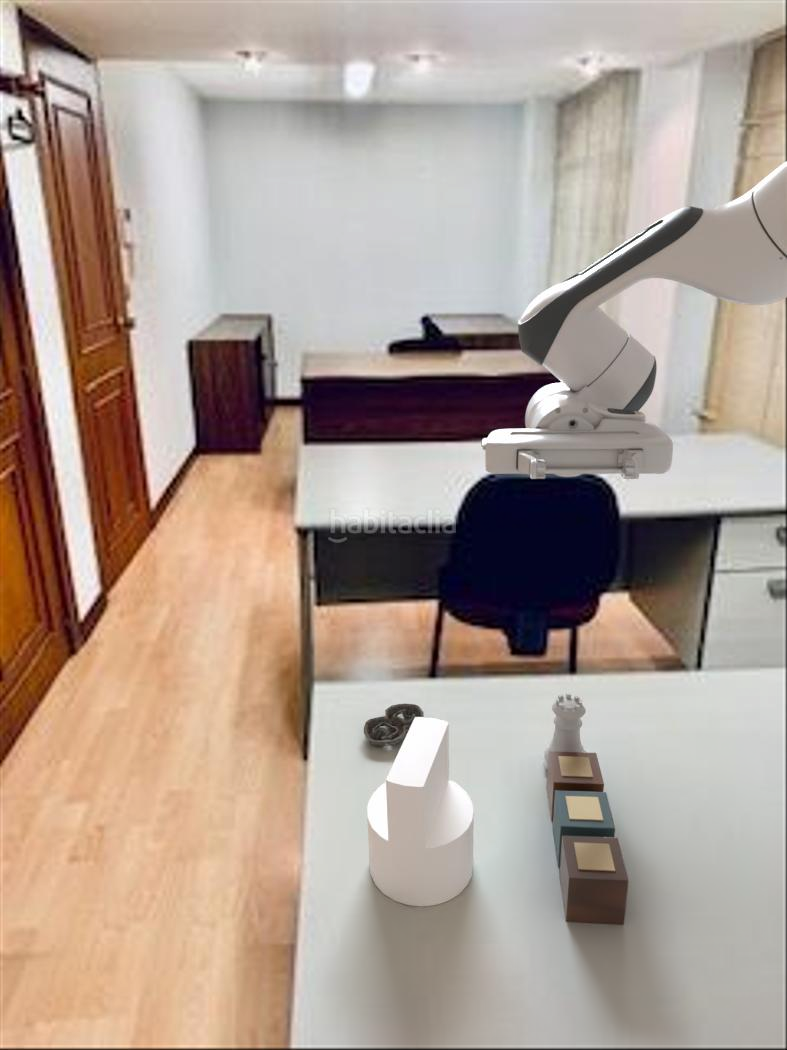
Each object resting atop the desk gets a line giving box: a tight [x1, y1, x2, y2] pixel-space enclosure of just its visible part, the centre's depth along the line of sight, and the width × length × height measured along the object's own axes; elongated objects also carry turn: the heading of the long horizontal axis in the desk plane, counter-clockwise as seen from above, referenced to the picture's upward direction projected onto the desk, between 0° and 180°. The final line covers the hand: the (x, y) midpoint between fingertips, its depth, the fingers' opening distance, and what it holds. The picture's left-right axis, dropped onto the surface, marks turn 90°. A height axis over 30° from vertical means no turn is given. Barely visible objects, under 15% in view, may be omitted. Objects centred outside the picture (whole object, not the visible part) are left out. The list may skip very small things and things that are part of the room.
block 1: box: [546, 751, 605, 823], centre depth 71 cm, size 4×4×5 cm
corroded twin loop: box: [363, 703, 425, 746], centre depth 84 cm, size 5×8×1 cm, turn 139°
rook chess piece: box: [542, 692, 586, 771], centre depth 76 cm, size 4×4×8 cm
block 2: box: [559, 836, 629, 925], centre depth 61 cm, size 4×4×5 cm
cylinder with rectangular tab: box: [366, 716, 475, 908], centre depth 64 cm, size 9×9×12 cm
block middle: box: [552, 790, 616, 869], centre depth 66 cm, size 4×4×5 cm
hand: (585, 471), depth 78 cm, fingers open, 8 cm apart
